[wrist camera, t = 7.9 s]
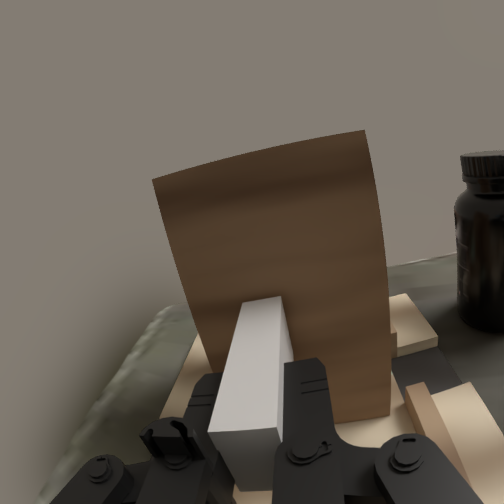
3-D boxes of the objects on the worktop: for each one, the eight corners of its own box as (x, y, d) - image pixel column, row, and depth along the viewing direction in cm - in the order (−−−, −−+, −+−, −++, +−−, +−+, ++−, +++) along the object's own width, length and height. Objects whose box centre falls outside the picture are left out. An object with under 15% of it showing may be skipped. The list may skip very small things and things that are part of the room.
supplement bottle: (517, 287, 20) (515, 147, 17) (541, 329, 15) (550, 153, 12) (451, 294, 24) (441, 153, 21) (460, 339, 18) (457, 159, 15)
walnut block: (390, 415, 13) (364, 129, 10) (235, 430, 15) (151, 179, 12) (370, 333, 21) (341, 139, 17) (259, 349, 23) (211, 167, 19)
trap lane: (547, 563, 2) (601, 522, 1) (93, 607, 5) (30, 577, 4) (406, 303, 25) (403, 260, 24) (202, 341, 28) (188, 301, 27)
